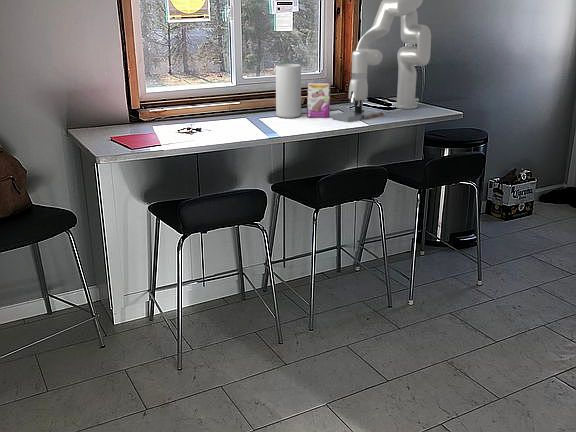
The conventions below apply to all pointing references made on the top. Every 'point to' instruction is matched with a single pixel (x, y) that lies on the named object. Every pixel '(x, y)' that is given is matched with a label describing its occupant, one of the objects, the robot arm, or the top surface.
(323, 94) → the candy bar box
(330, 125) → the top surface
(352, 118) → the steel cover plate
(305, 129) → the top surface
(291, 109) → the cylinder vase
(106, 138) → the top surface
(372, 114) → the pair of brown sticks
